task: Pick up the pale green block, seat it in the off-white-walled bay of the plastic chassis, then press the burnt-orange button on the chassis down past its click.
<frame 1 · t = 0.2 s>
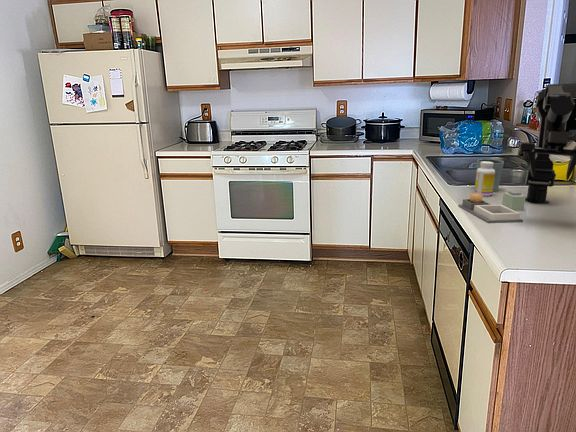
hand: (550, 177, 135), 15 cm above the worktop, tool tilted 30°, fingers open, 9 cm apart
pale green block: (512, 208, 156), on the worktop
chassis: (495, 216, 146), on the worktop
drinking glass: (486, 190, 184), on the worktop
click button: (475, 198, 154), point 4 cm above the worktop, slide at 0.0 cm
supplement bottle: (483, 194, 175), on the worktop
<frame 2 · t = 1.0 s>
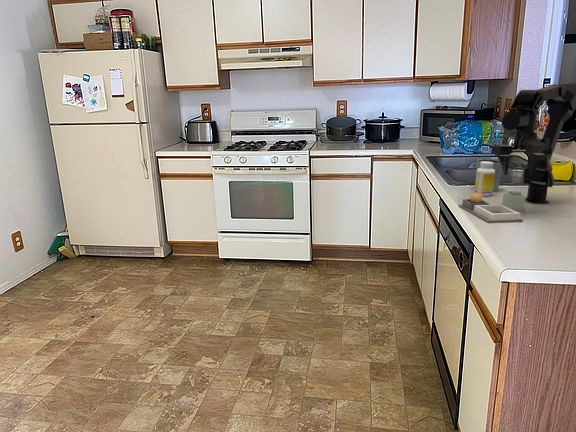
hand: (518, 174, 152), 12 cm above the worktop, tool pointing down, fingers open, 9 cm apart
nothing on the worktop moved.
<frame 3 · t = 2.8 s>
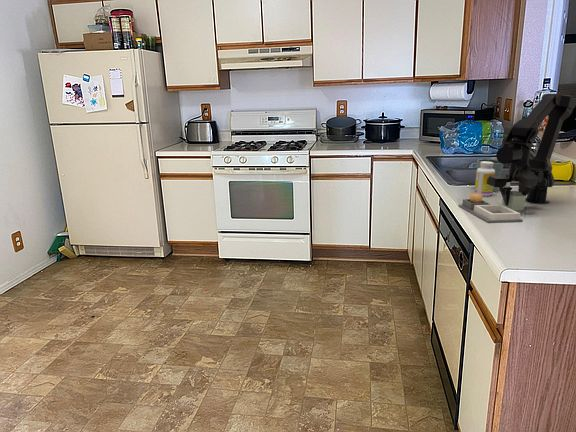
hand: (512, 205, 156), 1 cm above the worktop, tool pointing down, fingers closed on pale green block, 4 cm apart
pale green block: (512, 207, 156), on the worktop, touching gripper
everything else where it was.
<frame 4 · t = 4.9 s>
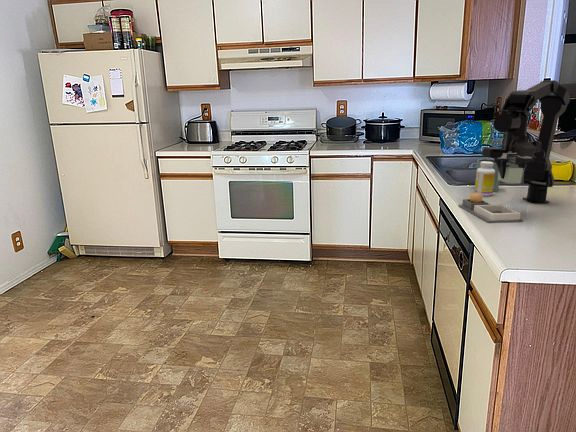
hand: (509, 178, 148), 12 cm above the worktop, tool pointing down, fingers closed on pale green block, 4 cm apart
pale green block: (508, 181, 148), point 11 cm above the worktop, touching gripper
everything else where it was.
when the fingers open (3 cm above the worktop, at t = 7.2 s): pale green block drops 2 cm, resting on chassis.
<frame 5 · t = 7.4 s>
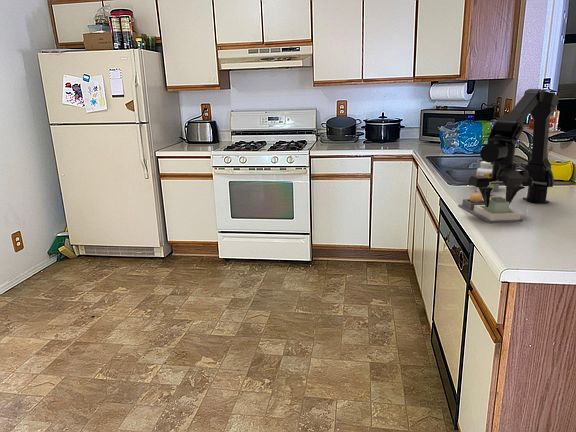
hand: (497, 206, 145), 3 cm above the worktop, tool pointing down, fingers open, 7 cm apart
pale green block: (495, 215, 146), point 1 cm above the worktop, touching chassis
everything else where it was.
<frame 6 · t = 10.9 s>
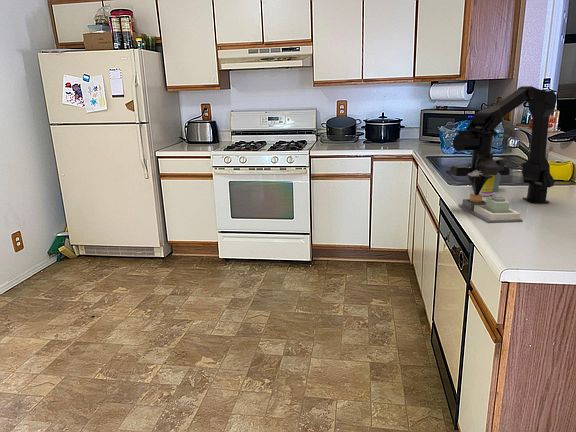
hand: (476, 194, 154), 5 cm above the worktop, tool pointing down, fingers closed, pressing on click button
click button: (475, 198, 154), point 4 cm above the worktop, slide at 0.1 cm, touching gripper
everything else where it was.
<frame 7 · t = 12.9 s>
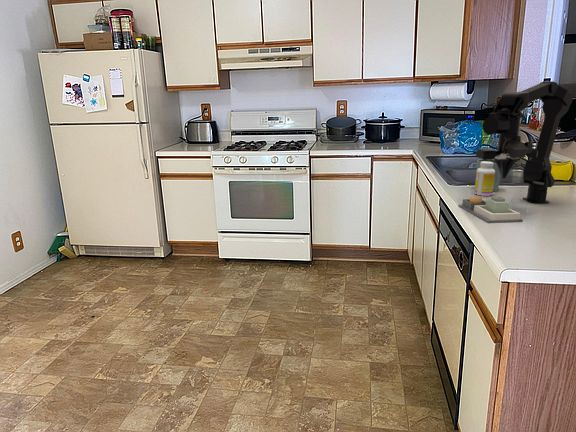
hand: (503, 178, 152), 11 cm above the worktop, tool pointing down, fingers closed
click button: (475, 201, 154), point 3 cm above the worktop, slide at 1.2 cm
everything else where it was.
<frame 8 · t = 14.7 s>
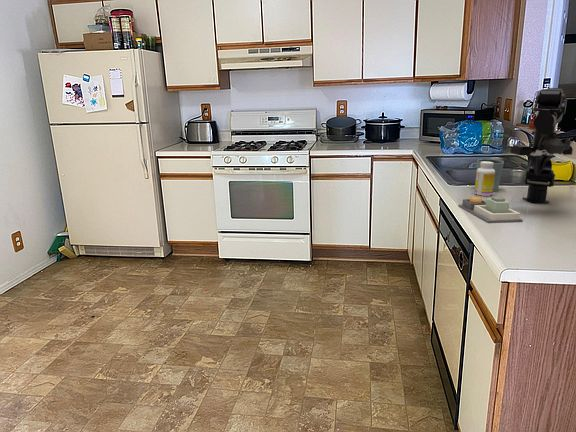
hand: (537, 175, 152), 12 cm above the worktop, tool pointing down, fingers closed
nothing on the worktop moved.
at the end: pale green block 0.0 cm off-centre on the chassis, point 0.6 cm above the chassis's base; pale green block tilted 0°; click button slide at 1.2 cm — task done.
